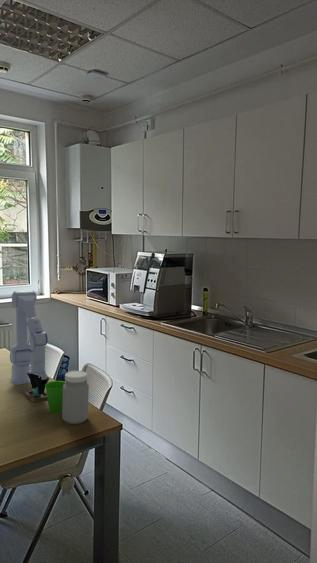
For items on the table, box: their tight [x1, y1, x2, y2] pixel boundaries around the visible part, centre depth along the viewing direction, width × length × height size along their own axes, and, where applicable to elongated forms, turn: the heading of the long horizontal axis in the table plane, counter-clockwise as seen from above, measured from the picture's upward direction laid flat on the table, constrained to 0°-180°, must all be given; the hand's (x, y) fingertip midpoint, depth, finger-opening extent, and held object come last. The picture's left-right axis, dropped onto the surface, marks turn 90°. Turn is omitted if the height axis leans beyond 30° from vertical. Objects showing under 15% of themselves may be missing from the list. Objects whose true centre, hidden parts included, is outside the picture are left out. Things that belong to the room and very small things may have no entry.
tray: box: [23, 389, 48, 404], centre depth 177 cm, size 10×8×2 cm
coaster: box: [18, 389, 31, 395], centre depth 183 cm, size 5×5×1 cm
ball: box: [32, 388, 42, 397], centre depth 177 cm, size 4×4×4 cm
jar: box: [61, 370, 90, 425], centre depth 157 cm, size 10×10×18 cm
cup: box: [45, 380, 65, 415], centre depth 164 cm, size 9×9×11 cm
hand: (37, 391), depth 177 cm, fingers open, 7 cm apart
